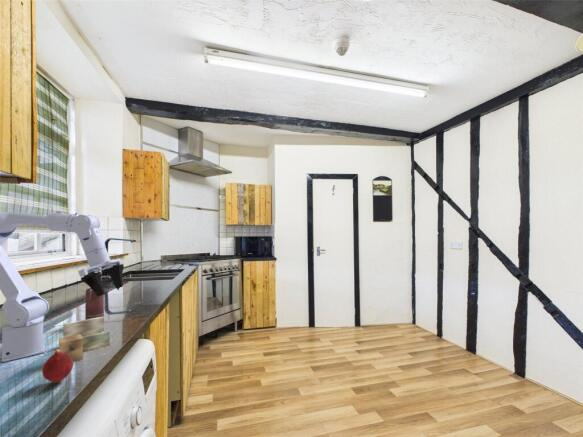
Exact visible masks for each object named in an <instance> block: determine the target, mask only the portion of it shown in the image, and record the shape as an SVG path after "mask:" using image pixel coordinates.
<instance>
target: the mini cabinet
mask: <svg viewBox="0 0 583 437" xmlns="http://www.w3.org/2000/svg"><path fill="white" fill-rule="evenodd" d="M58 349H59V350H60V351H61V352H63V353H66V354H68V355H69V356H70V358H71V359H72V361H73V363H75V362H78V361H82V360H83V359H84V351H83V338H82V336H81V334H78V335H73V336H68V337H64V338H63V337H59V338H58ZM74 361H75V362H74Z"/></svg>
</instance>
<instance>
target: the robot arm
mask: <svg viewBox="0 0 583 437" xmlns="http://www.w3.org/2000/svg"><path fill="white" fill-rule="evenodd" d="M23 225H26V226H27V225H28V226H29V225H30V226H46V229H48V230H50V231H53V232H54V231H55V232H65V233H66V232H67V233H74V234H76V235H77V237H78V239H79V242H80V245H81V247H82V249H83V250H82V251H83V252H84V255H85V258H86V261H87V263H88V265H89V267H86V268H82V269H80V270H78V275H79V278H80V281H81V282H83V283H84V284H86V285H87V286H88V287H89V288H91V289H92V290H93V291H94V292H95V294H96V295H97V296H101V295H104V296H105V289H104V286H103V282H102V272H101V271H104V270H105V273H106V274H107V275H108V276H109V278H110V279H111V281H112V283H113V285H114V287H115V289H116V290H118V289H121V288H123V287H124V283H123V273H124V268H125V265H124V263H122V259H121V258H117V259H111V258H110V256H109V253H108V250H107V248H106V247H107V246H106V245H105V244H106V243H105V242H104V239H103V237H102V234H101V232H100V230H99V228H100V225H101V222H100V220H99V219H98V217H96V216H94V215H91V214H88V215H86V214H81V212H75V213H67V212H65V211H63V210H57V211H56V212H55V211H54V212H51V213H49V214H48V215H44V214H43V215H41V214H36V213H35V214H33V213H25V212H13V211H9V212H8V211H7V212H6V211H1V212H0V291H1V293H2V294H3V296H4V298H5V301H4V303H3V304H2V306H1V309H2V310H3V312H4V320H5V322H6V323H7V325H9V326H5V327H2V331H1V347H0V355H1V363H5V362H9V361H13V360H18V359H22V358H26V357H31V356H36V355H40V354H44V353H46V348H45V343H44V320H45V316H46V315H47V314H48V312H49V309H50V304H49V302H48V301H47V300H46V299H45V298H43V297H41V295H40V293H39V292H37V291H35V290H32V289H30V288H29V287H28V286H27V284H26V282H25V281H24V279H23V277H22V276H21V274H20V272H19V271H18V269H17V268H16V267H15V265H14V263H13V261H12V260H11V258H10V257H9V255H8V254H7V252H6V250H5V249H4V248H3V245H4V244H5V242H6V241H7V240H8V239H9V238H10V237H11V236H12V235H13V234H14V232H16V230H17V229H18V228H21V227H23ZM106 269H107V270H106Z"/></svg>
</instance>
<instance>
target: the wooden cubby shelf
mask: <svg viewBox="0 0 583 437" xmlns="http://www.w3.org/2000/svg"><path fill="white" fill-rule="evenodd" d="M62 331H63V332H62V334H63V335H62V338H64V337H68V336H73V335H78V334H81V336H82V338H83V352H87V351H90V350H95V349H99V348H103V347H107V346H110V345H111V342H110V339H111V338H110V337H111V336H110V335H111V334H110V333H111V332H110V330H108V331H105V316H104V317H98V318H92V319H87V320H85V319H83V320H77V321H72V322H66V323H63V329H62Z"/></svg>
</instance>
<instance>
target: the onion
mask: <svg viewBox="0 0 583 437" xmlns="http://www.w3.org/2000/svg"><path fill="white" fill-rule="evenodd" d="M73 365H74V362H73V361H72V359H71V358H70V356H69V355H68V354H66V353H63V352H61V351H60V350H59V348H57V349H55V351H54V353H53V354H52V355H51V356H50V357H49V358H48V359H47V360H46V361H45V362H44V364H43V366H42V370H41V373H42V375H43V378H44V379H45V380H47V381H49V382H51V383H53V384H59V383H60V382H61V381H62V380H64V379H65V378H67V376H68V375H70V373H71V372H72V370H73Z"/></svg>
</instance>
